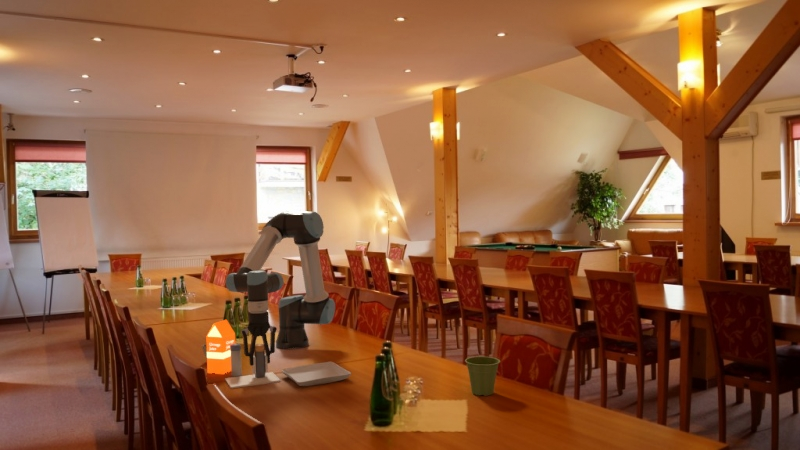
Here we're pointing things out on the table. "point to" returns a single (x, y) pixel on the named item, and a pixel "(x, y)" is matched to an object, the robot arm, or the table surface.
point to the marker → (260, 360)
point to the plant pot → (482, 374)
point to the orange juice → (219, 347)
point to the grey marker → (235, 360)
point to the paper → (251, 380)
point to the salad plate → (316, 373)
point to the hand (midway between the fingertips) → (260, 372)
